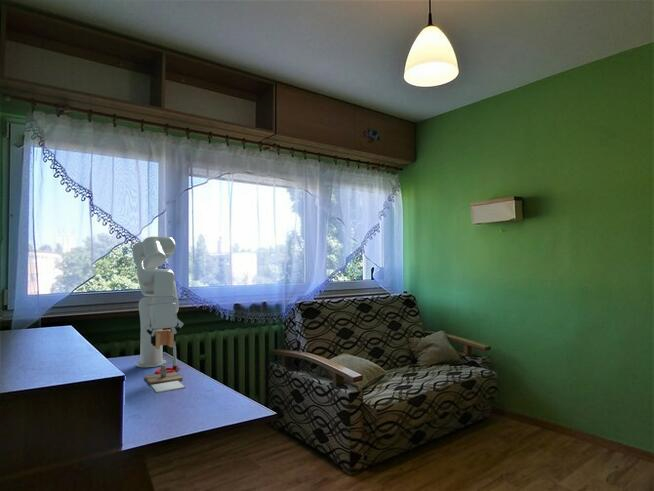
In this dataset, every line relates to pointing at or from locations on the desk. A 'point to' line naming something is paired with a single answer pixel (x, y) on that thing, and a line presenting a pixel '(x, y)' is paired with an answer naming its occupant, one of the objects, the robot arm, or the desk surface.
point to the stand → (163, 377)
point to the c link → (164, 338)
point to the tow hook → (175, 366)
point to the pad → (167, 386)
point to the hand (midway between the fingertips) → (163, 344)
